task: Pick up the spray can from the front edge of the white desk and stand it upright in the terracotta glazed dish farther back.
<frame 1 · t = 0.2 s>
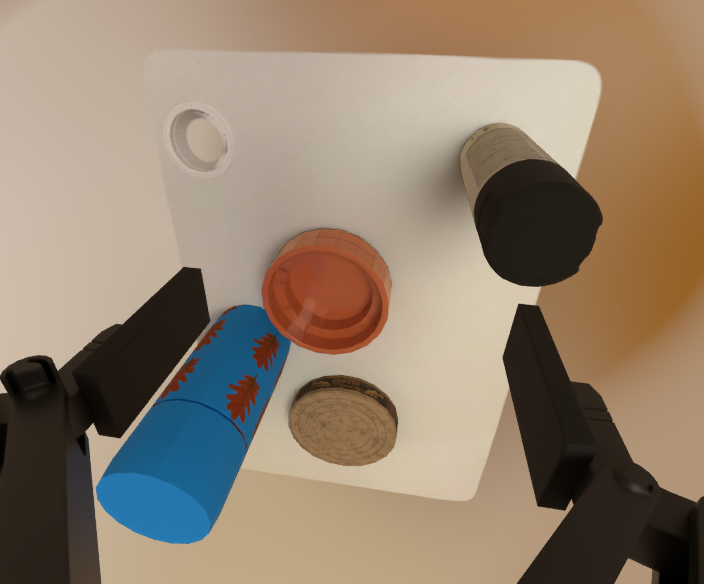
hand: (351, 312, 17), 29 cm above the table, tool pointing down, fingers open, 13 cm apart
brown round disc: (345, 413, 63), on the table
dish: (332, 282, 51), on the table
spray can: (493, 156, 40), on the table
thermos: (254, 335, 57), on the table
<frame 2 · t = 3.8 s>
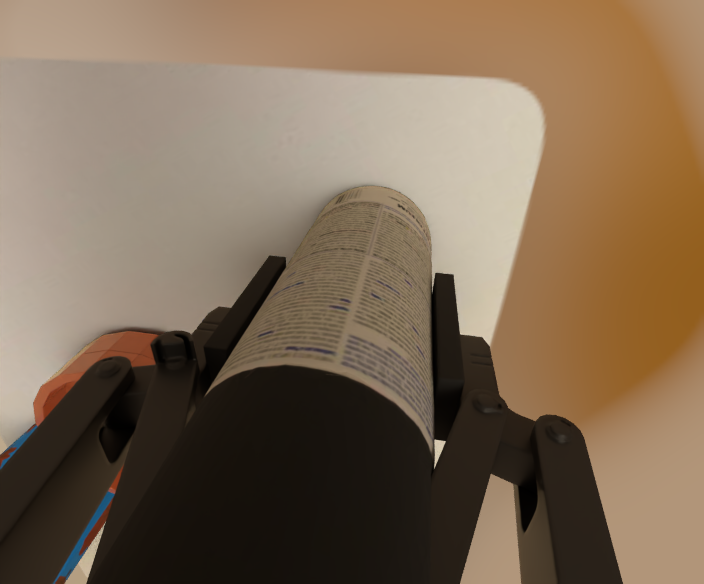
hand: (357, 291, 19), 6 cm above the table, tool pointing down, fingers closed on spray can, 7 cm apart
dish: (167, 397, 34), on the table
spray can: (372, 236, 24), on the table, touching gripper
thermos: (84, 453, 41), on the table
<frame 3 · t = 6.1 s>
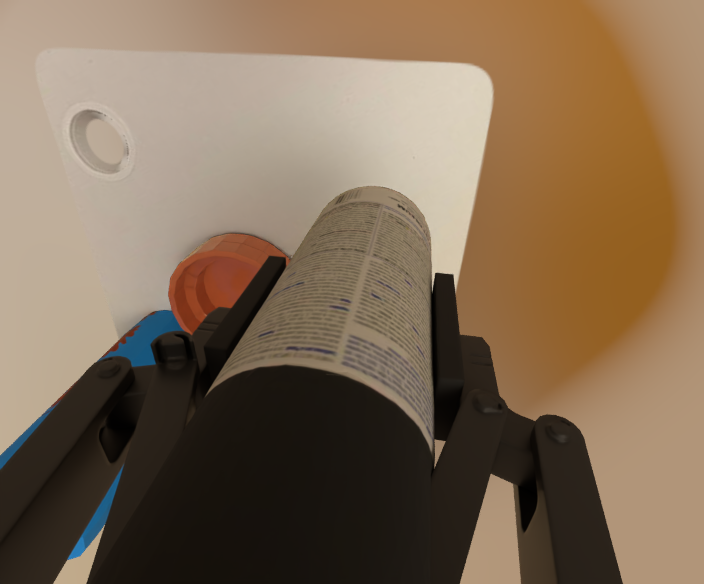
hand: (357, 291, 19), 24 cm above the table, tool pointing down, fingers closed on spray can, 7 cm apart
dish: (248, 287, 49), on the table
spray can: (372, 236, 24), point 18 cm above the table, touching gripper
thermos: (177, 341, 56), on the table
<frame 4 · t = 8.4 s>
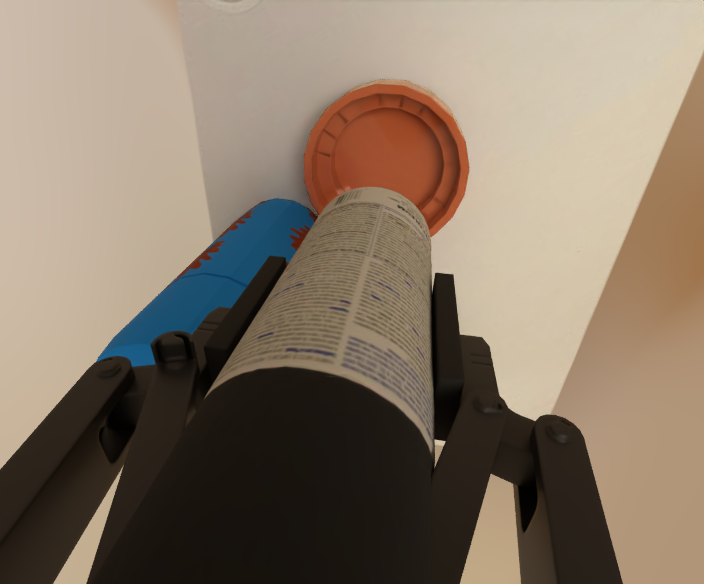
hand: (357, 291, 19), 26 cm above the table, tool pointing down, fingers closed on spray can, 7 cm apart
dish: (388, 161, 41), on the table
spray can: (372, 237, 24), point 19 cm above the table, touching gripper
thermos: (285, 242, 47), on the table
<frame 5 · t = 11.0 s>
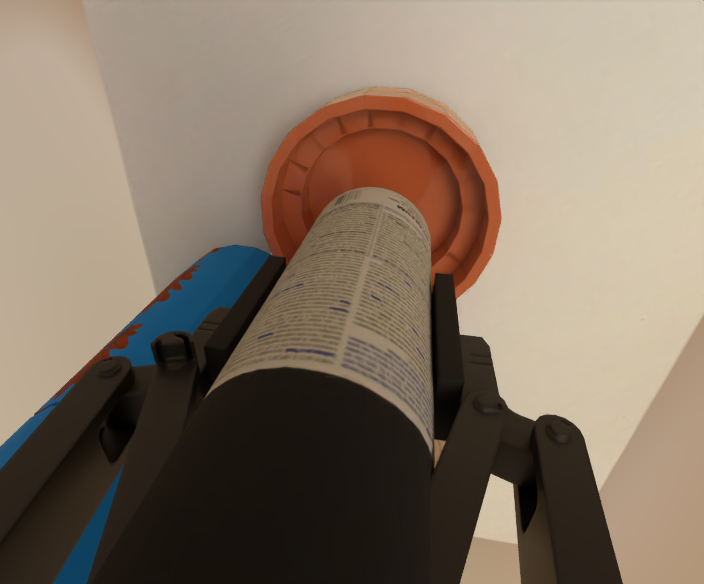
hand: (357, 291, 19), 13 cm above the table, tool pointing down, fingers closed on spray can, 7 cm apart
dish: (383, 199, 29), on the table
spray can: (372, 237, 24), point 6 cm above the table, touching gripper
thermos: (249, 298, 36), on the table
when the fingers open (7 cm above the table, at t = 13.0 s): spray can stays where it is, resting on dish.
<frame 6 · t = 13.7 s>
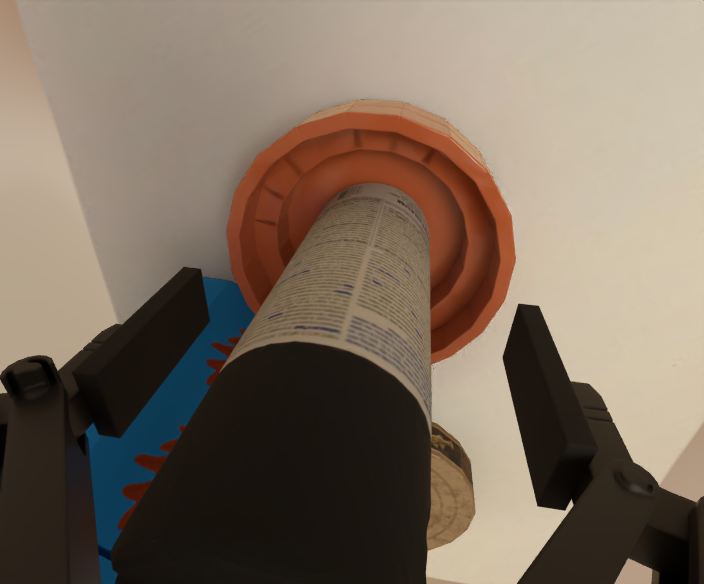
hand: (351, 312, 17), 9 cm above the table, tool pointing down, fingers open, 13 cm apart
brown round disc: (380, 467, 37), on the table
dish: (374, 228, 25), on the table
spray can: (373, 231, 25), resting on dish
thermos: (224, 335, 32), on the table
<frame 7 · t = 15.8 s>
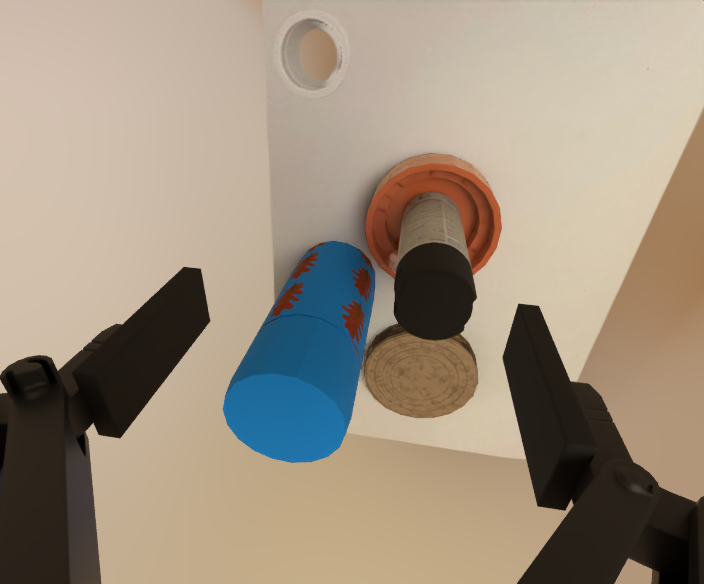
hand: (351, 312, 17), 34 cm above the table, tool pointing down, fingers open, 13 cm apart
brown round disc: (420, 363, 61), on the table
dish: (430, 215, 49), on the table
spray can: (430, 216, 49), resting on dish
thermos: (337, 276, 56), on the table
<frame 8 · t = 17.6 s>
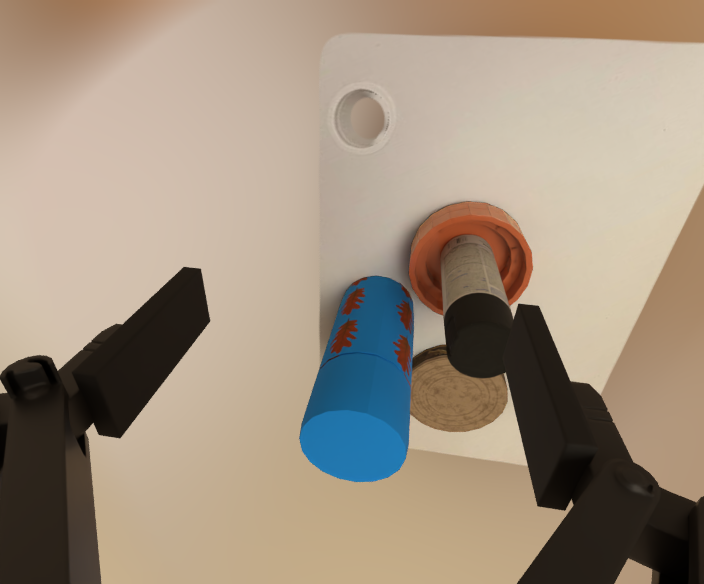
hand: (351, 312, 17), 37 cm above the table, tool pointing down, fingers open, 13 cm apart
brown round disc: (452, 382, 67), on the table
dish: (465, 253, 54), on the table
spray can: (465, 254, 54), resting on dish
thermos: (377, 306, 61), on the table
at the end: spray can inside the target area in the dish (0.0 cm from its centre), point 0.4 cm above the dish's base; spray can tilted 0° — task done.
